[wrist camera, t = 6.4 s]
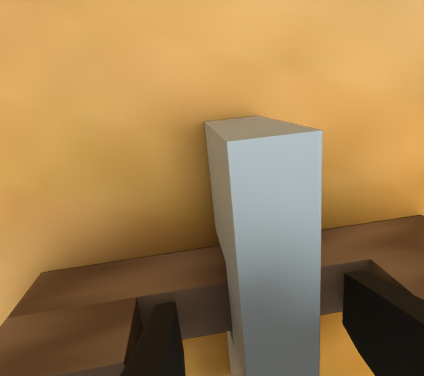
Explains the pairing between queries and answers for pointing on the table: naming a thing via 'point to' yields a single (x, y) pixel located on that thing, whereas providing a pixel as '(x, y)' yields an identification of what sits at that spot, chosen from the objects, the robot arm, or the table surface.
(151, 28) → the table surface
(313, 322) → the pale blue-gray block
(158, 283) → the walnut u-shaped block
